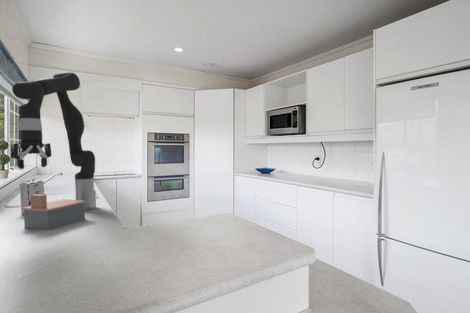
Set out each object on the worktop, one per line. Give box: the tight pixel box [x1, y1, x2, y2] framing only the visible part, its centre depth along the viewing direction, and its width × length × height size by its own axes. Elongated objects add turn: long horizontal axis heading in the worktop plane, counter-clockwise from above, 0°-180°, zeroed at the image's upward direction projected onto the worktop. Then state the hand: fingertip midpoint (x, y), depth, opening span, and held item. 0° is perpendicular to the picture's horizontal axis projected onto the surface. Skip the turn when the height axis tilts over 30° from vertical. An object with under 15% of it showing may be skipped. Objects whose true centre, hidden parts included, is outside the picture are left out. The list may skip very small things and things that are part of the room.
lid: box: [22, 194, 86, 211], centre depth 120 cm, size 19×15×8 cm
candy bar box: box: [19, 180, 45, 215], centre depth 145 cm, size 11×5×16 cm, turn 179°
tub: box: [23, 203, 86, 231], centre depth 120 cm, size 18×14×8 cm
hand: (32, 167), depth 111 cm, fingers open, 8 cm apart
